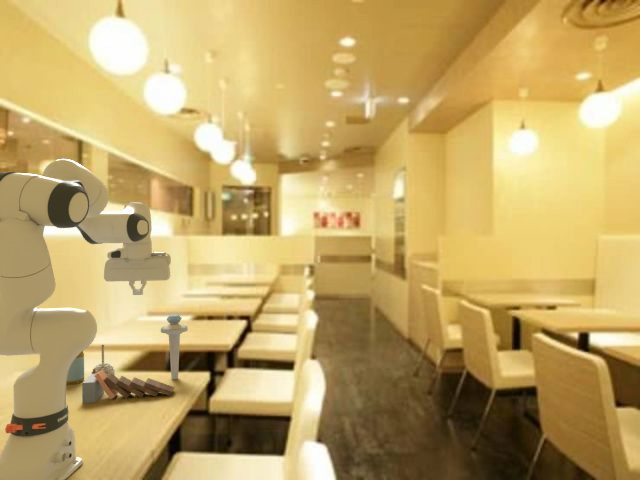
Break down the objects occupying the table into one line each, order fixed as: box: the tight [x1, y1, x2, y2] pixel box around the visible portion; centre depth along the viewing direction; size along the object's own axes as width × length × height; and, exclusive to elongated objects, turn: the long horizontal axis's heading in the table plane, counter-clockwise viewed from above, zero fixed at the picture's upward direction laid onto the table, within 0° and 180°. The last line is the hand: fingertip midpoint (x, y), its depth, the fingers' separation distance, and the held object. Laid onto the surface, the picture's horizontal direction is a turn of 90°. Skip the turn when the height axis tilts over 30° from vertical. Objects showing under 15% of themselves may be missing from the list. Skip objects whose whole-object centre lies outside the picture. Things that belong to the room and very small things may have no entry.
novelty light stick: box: [160, 314, 188, 381], centre depth 188 cm, size 10×10×25 cm
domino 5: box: [143, 377, 175, 397], centre depth 170 cm, size 2×5×10 cm
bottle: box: [66, 350, 85, 385], centre depth 185 cm, size 7×7×15 cm
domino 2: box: [103, 373, 132, 399], centre depth 168 cm, size 2×5×10 cm
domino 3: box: [116, 375, 146, 398], centre depth 168 cm, size 2×5×10 cm
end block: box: [81, 373, 105, 404], centre depth 166 cm, size 10×4×7 cm, turn 9°
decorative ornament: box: [91, 344, 116, 376], centre depth 182 cm, size 8×8×15 cm
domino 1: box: [94, 369, 119, 400], centre depth 167 cm, size 2×5×10 cm
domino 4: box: [129, 376, 160, 397], centre depth 169 cm, size 2×5×10 cm
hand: (138, 294), depth 157 cm, fingers closed
